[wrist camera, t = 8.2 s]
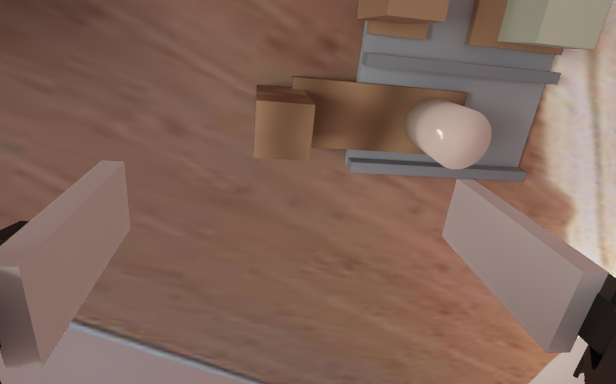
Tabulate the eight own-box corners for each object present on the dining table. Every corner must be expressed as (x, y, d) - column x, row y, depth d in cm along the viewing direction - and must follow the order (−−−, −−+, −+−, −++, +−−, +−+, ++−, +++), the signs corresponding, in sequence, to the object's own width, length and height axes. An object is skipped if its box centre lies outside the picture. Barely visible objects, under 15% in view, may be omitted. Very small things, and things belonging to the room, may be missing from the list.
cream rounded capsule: (400, 146, 35) (426, 167, 30) (410, 94, 33) (440, 107, 28) (447, 149, 36) (481, 170, 30) (460, 99, 34) (498, 111, 29)
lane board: (334, 163, 37) (356, 200, 29) (366, -78, 29) (408, -121, 21) (508, 173, 40) (573, 209, 32) (578, -45, 32) (688, -71, 24)
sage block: (496, 41, 32) (535, 42, 28) (514, -25, 31) (559, -34, 26) (548, 47, 33) (594, 49, 29) (568, -17, 31) (621, -25, 27)
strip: (254, 141, 34) (253, 170, 27) (257, 72, 32) (257, 84, 24) (448, 153, 37) (494, 183, 30) (463, 91, 35) (518, 107, 27)
